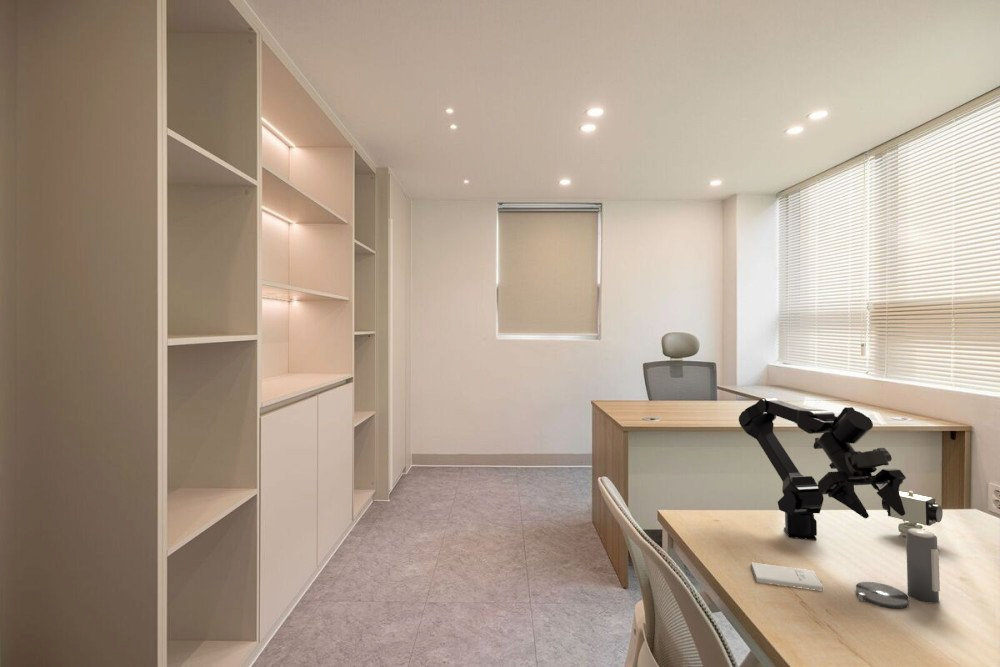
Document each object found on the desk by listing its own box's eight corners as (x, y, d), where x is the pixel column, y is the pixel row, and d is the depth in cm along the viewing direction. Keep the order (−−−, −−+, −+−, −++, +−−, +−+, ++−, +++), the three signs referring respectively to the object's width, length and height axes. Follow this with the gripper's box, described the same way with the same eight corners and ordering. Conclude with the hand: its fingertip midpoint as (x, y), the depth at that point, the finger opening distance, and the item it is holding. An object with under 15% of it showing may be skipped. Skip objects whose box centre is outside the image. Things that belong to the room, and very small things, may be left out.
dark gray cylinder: (901, 592, 102) (899, 528, 102) (921, 590, 103) (919, 527, 103) (927, 605, 97) (925, 538, 97) (948, 603, 97) (946, 536, 98)
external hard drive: (750, 568, 114) (812, 576, 110) (756, 584, 106) (823, 593, 102) (750, 561, 114) (812, 569, 110) (756, 577, 107) (823, 585, 102)
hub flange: (879, 585, 105) (879, 580, 105) (920, 606, 96) (919, 599, 96) (842, 590, 103) (841, 584, 103) (880, 611, 95) (880, 604, 95)
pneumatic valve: (936, 546, 125) (935, 498, 125) (882, 531, 135) (880, 487, 135) (945, 541, 128) (943, 495, 128) (890, 527, 138) (889, 484, 138)
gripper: (826, 436, 112) (871, 500, 101) (897, 433, 115) (948, 495, 104) (800, 463, 120) (839, 525, 109) (867, 460, 123) (912, 520, 112)
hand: (885, 516), depth 108 cm, fingers open, 9 cm apart
